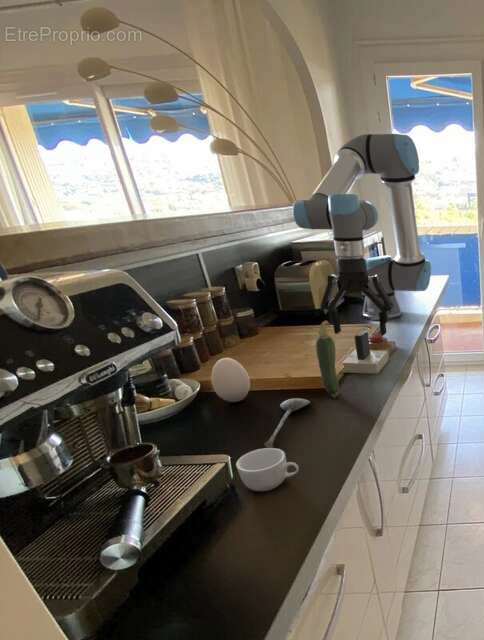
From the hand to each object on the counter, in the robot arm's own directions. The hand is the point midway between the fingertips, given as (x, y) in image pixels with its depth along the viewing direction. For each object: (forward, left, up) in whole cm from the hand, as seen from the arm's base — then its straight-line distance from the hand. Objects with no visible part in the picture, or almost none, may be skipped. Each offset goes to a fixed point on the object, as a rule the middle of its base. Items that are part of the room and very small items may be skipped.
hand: (360, 333), depth 129 cm
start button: (-12, 0, -7) cm, 14 cm away
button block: (-12, 0, -10) cm, 16 cm away
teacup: (+58, +3, -10) cm, 59 cm away
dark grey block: (0, 0, -7) cm, 7 cm away
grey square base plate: (0, 0, -10) cm, 10 cm away
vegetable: (+21, -1, -10) cm, 23 cm away
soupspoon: (+36, -6, -10) cm, 38 cm away
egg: (+26, -24, -11) cm, 37 cm away
